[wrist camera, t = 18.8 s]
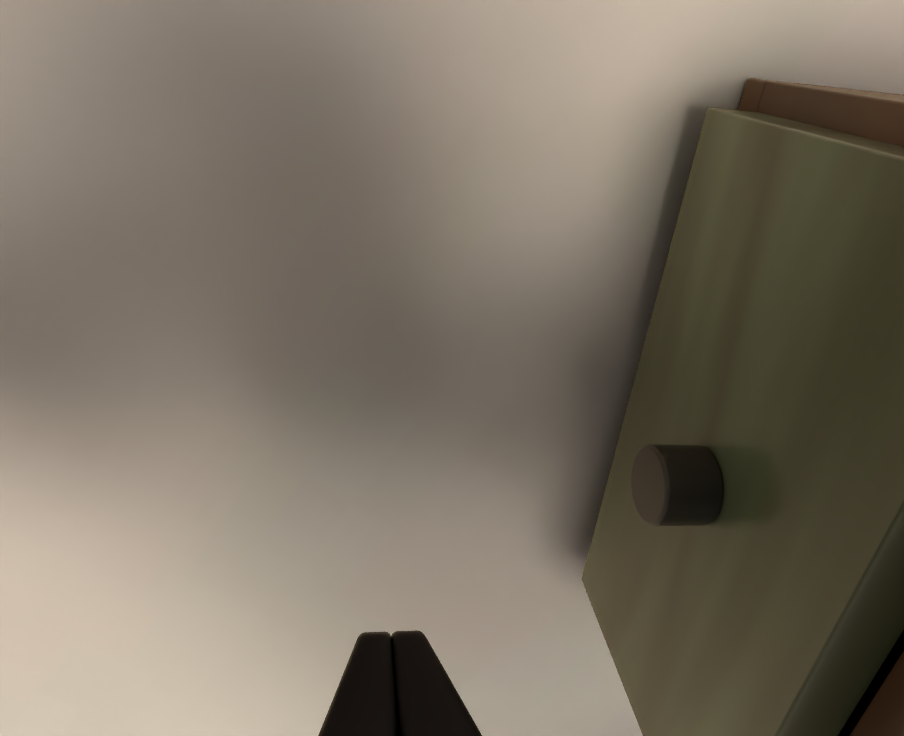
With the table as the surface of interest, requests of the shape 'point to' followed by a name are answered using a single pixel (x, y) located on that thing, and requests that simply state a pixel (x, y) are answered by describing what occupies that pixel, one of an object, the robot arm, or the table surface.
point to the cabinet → (879, 118)
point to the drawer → (764, 444)
